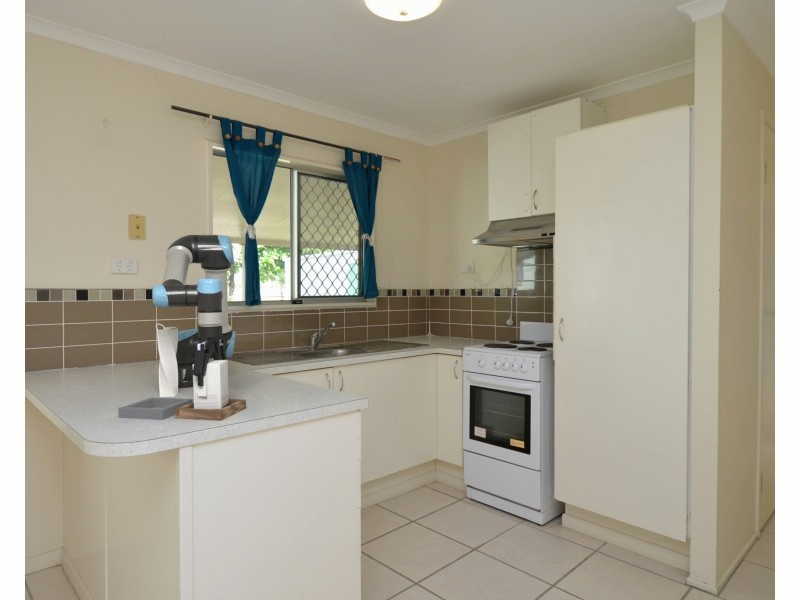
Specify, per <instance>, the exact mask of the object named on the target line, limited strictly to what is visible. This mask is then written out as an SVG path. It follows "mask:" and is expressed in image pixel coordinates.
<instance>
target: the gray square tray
mask: <svg viewBox="0 0 800 600" xmlns="http://www.w3.org/2000/svg"><path fill="white" fill-rule="evenodd" d="M192 402H194V398H179V397H178V398H175V397H149V398H145V399H142V400H139V401H136V402H133V403H130V404H127V405H125V406H121V407H118V408H117V409H118V418H121V419H122V418H124V419H141V420H142V419H144V420H145V419H146V420H166V419H168V418H170V417H173V416H175V409H176V408H179V407H182V406H184V405H187V404H189V403H192Z"/></svg>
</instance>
